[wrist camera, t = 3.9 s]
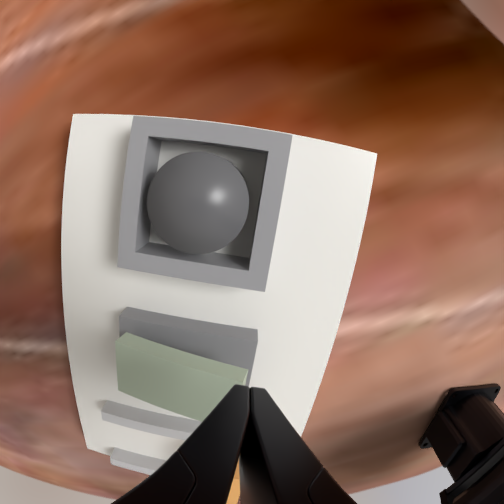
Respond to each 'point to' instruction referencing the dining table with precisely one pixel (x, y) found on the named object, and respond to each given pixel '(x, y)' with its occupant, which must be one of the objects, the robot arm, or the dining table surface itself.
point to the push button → (198, 202)
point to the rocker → (173, 377)
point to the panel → (203, 270)
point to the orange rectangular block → (234, 488)
